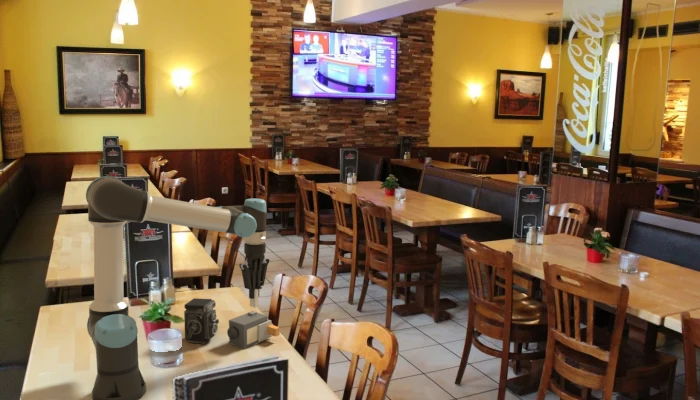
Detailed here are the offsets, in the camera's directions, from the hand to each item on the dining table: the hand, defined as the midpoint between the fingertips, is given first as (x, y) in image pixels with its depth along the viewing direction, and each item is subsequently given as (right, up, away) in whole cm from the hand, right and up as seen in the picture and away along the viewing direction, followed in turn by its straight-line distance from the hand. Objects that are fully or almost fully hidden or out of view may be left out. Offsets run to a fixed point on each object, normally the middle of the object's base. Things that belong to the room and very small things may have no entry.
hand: (254, 306), depth 214 cm
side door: (+4, -14, +7) cm, 16 cm away
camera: (-20, -14, +8) cm, 26 cm away
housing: (-3, -14, +8) cm, 17 cm away
